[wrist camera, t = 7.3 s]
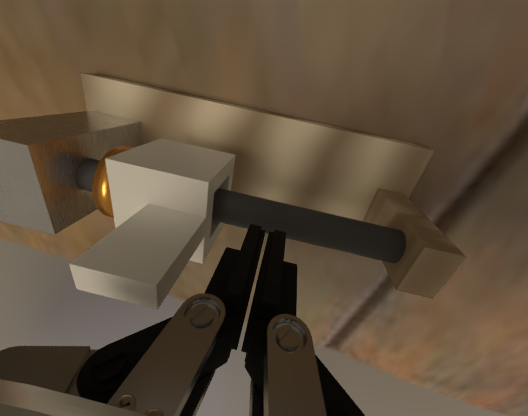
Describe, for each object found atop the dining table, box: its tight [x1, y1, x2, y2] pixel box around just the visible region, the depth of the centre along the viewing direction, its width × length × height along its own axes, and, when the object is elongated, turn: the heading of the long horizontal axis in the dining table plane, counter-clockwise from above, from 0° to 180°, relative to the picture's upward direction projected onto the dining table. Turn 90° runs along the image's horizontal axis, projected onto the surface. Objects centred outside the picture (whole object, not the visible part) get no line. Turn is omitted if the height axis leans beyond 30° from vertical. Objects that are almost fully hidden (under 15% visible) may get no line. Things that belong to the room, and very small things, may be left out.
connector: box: [0, 111, 143, 234], centre depth 15 cm, size 7×5×8 cm
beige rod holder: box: [80, 73, 466, 299], centre depth 16 cm, size 26×10×9 cm, turn 79°
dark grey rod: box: [76, 159, 406, 263], centre depth 14 cm, size 21×2×2 cm, turn 79°
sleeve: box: [69, 138, 235, 309], centre depth 12 cm, size 5×5×10 cm
